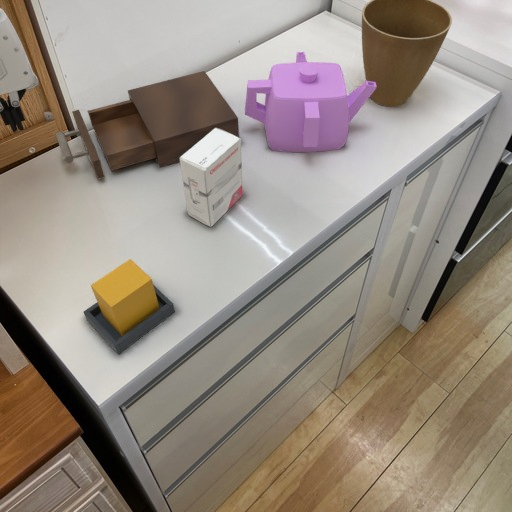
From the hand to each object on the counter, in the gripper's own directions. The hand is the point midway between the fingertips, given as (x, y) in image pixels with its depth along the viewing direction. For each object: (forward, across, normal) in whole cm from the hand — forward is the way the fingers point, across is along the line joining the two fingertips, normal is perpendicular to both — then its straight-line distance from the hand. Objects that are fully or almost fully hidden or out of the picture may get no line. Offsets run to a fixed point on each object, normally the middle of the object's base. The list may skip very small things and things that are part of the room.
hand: (17, 125), depth 82 cm
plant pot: (+10, +65, -7) cm, 66 cm away
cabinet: (+10, +26, 0) cm, 28 cm away
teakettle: (+10, +46, -9) cm, 48 cm away
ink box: (+9, +24, -20) cm, 33 cm away
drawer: (+8, +14, 0) cm, 16 cm away
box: (+8, +6, -35) cm, 36 cm away
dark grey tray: (+9, +6, -35) cm, 36 cm away
